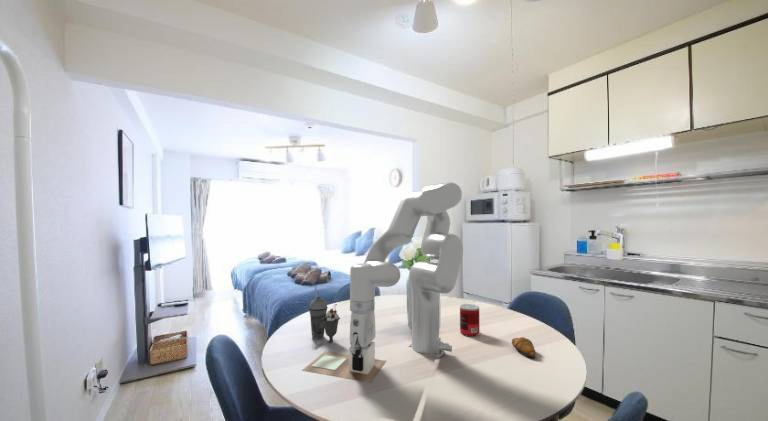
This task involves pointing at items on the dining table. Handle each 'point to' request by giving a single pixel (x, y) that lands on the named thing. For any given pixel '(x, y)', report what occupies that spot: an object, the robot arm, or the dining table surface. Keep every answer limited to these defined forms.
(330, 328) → the sundae
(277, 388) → the dining table surface
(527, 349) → the croissant
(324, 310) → the beverage cup
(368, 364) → the white cardboard box
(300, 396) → the dining table surface
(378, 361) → the board
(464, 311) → the canned food
